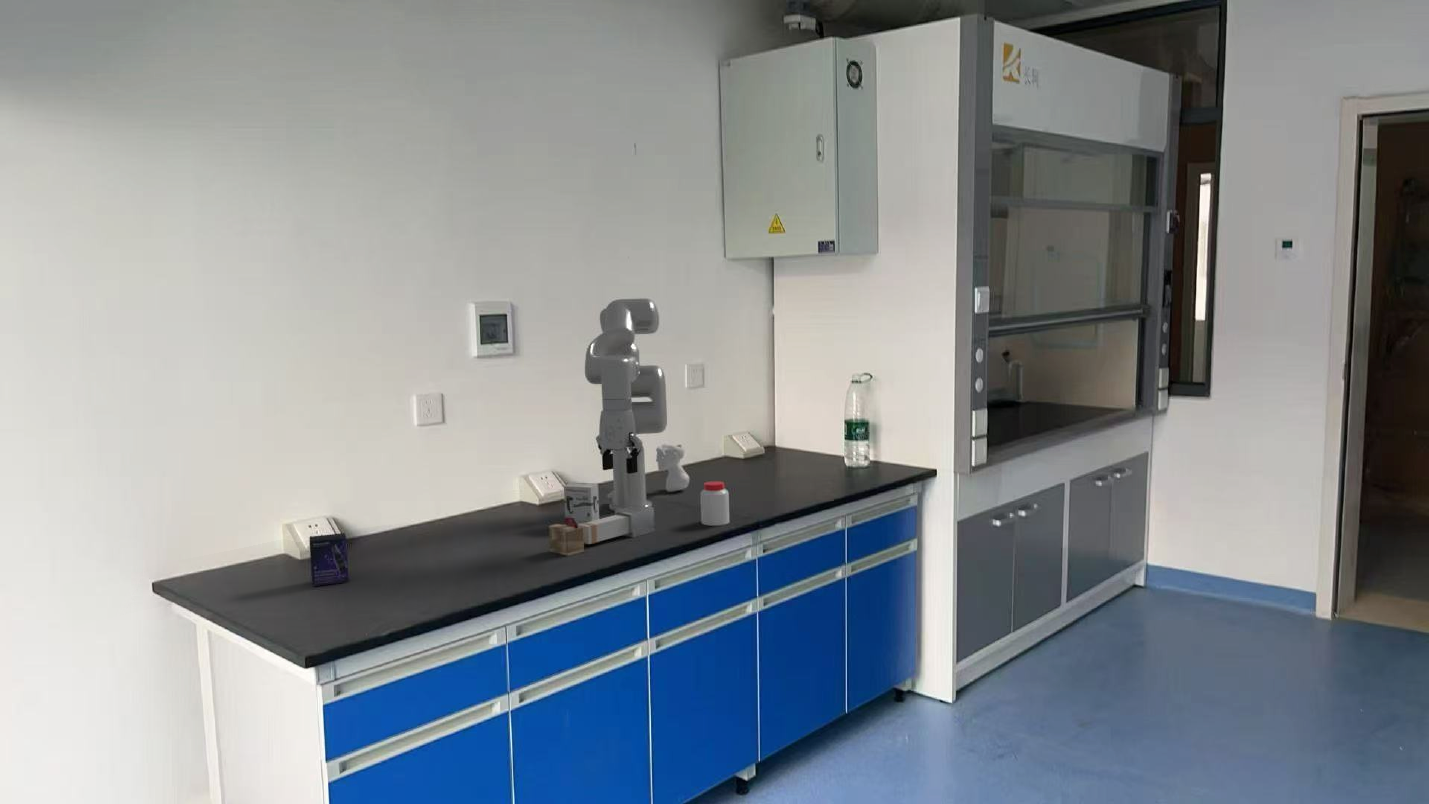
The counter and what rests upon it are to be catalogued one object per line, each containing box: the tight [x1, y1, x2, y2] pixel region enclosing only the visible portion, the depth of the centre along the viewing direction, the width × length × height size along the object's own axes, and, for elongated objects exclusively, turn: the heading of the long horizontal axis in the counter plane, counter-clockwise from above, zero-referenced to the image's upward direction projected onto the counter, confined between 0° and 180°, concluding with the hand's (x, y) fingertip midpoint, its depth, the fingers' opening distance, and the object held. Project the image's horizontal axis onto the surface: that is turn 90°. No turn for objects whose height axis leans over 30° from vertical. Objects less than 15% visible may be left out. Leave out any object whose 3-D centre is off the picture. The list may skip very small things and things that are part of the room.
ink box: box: [563, 481, 600, 529], centre depth 278 cm, size 9×5×12 cm, turn 70°
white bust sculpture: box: [655, 443, 690, 493], centre depth 321 cm, size 10×11×15 cm
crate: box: [548, 523, 585, 557], centre depth 251 cm, size 7×5×7 cm
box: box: [308, 532, 350, 588], centre depth 231 cm, size 8×6×11 cm
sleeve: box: [614, 505, 656, 538], centre depth 269 cm, size 7×8×6 cm
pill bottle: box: [699, 480, 730, 527], centre depth 277 cm, size 8×8×11 cm
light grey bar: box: [578, 514, 631, 545], centre depth 264 cm, size 4×22×5 cm, turn 138°
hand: (620, 471), depth 261 cm, fingers open, 9 cm apart
